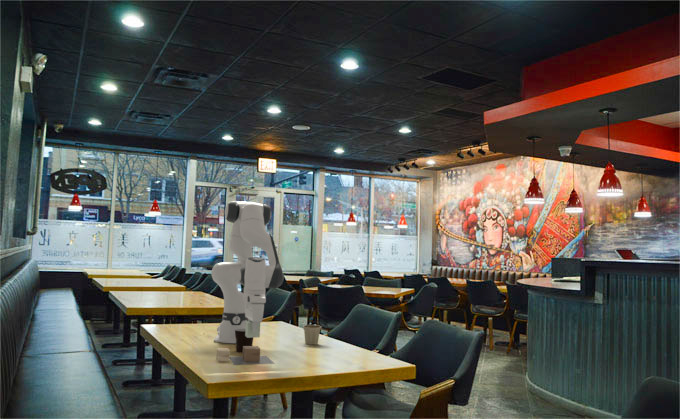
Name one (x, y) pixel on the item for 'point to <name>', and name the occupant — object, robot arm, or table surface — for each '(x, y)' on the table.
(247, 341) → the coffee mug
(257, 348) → the walnut block
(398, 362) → the table surface
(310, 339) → the flower pot
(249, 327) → the sage block
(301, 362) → the table surface
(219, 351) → the maple block
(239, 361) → the plate
